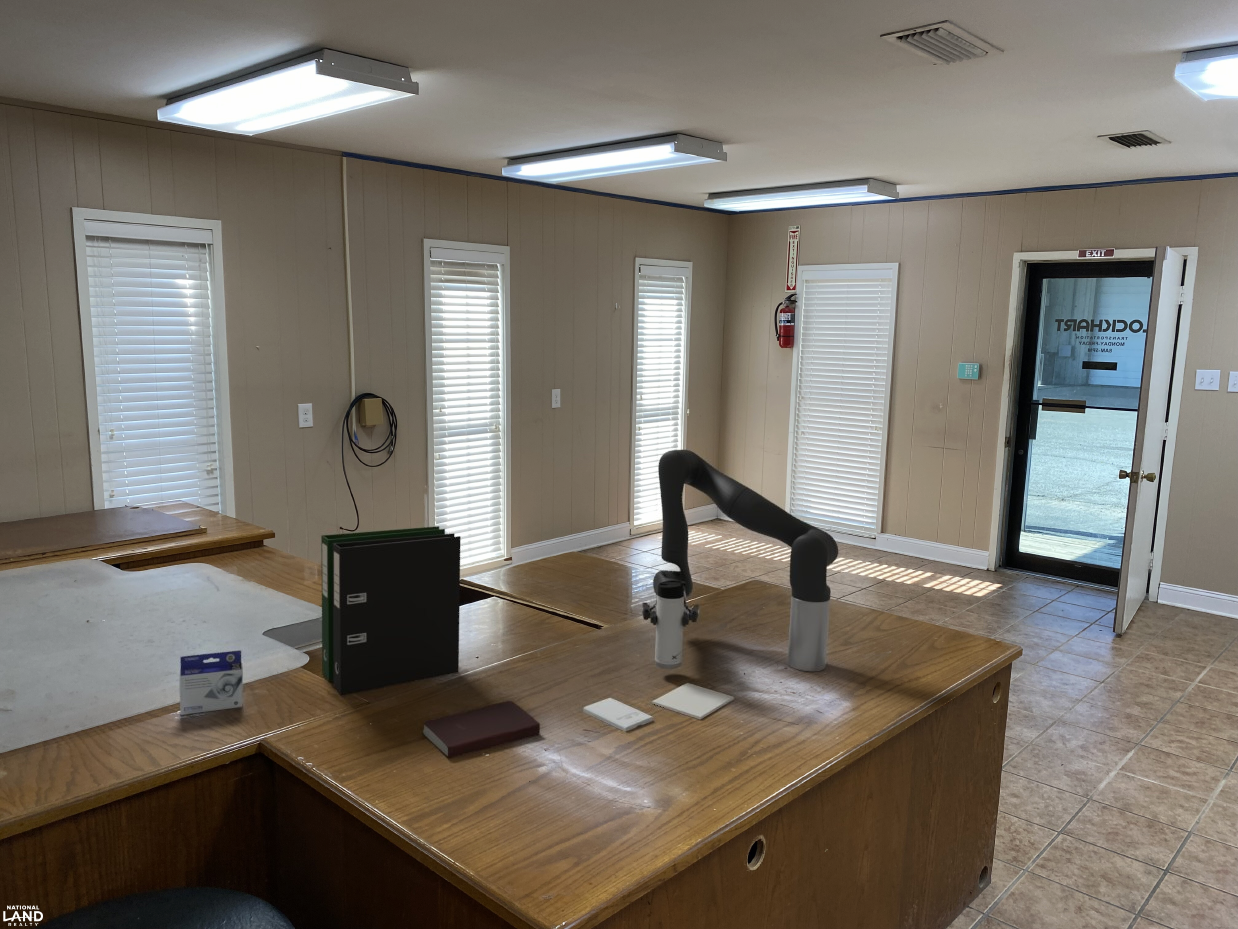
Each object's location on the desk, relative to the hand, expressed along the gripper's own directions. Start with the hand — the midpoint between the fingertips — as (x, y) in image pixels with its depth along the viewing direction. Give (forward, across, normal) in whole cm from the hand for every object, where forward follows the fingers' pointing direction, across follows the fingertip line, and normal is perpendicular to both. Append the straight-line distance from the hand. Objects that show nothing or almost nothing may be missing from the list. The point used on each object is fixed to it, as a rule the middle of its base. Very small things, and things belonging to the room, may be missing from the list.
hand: (669, 621), depth 196 cm
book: (+35, -35, +14) cm, 52 cm away
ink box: (+33, -91, +13) cm, 98 cm away
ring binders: (+8, -62, +13) cm, 64 cm away
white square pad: (+12, +6, +14) cm, 19 cm away
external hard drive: (+22, -10, +14) cm, 28 cm away
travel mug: (-2, 0, +11) cm, 12 cm away
